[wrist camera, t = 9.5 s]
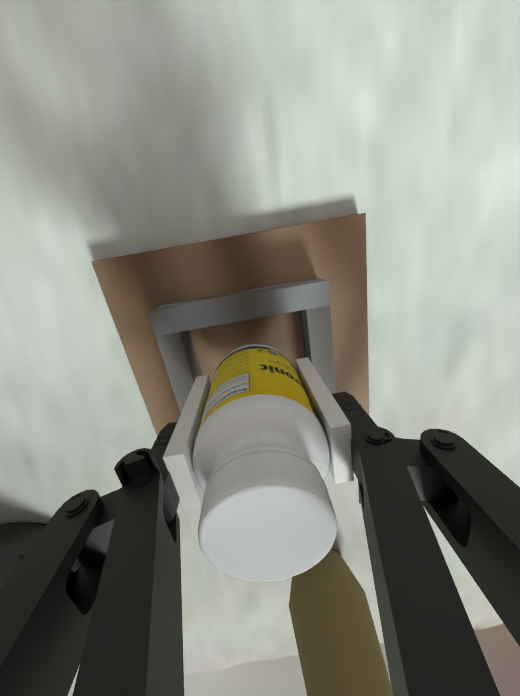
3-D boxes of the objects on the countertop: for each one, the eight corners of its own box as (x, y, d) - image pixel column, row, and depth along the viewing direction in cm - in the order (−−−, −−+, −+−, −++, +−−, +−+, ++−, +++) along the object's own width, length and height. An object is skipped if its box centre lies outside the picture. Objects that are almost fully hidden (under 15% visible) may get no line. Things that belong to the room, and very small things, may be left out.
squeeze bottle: (273, 552, 28) (319, 1000, 11) (341, 530, 27) (498, 967, 10) (296, 591, 31) (360, 999, 14) (358, 572, 30) (505, 972, 13)
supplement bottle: (312, 386, 17) (395, 546, 7) (247, 428, 17) (249, 619, 8) (264, 324, 15) (294, 427, 6) (196, 373, 16) (125, 534, 7)
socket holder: (174, 463, 23) (162, 497, 20) (99, 261, 17) (64, 261, 14) (364, 429, 23) (384, 457, 20) (358, 215, 17) (386, 204, 14)
